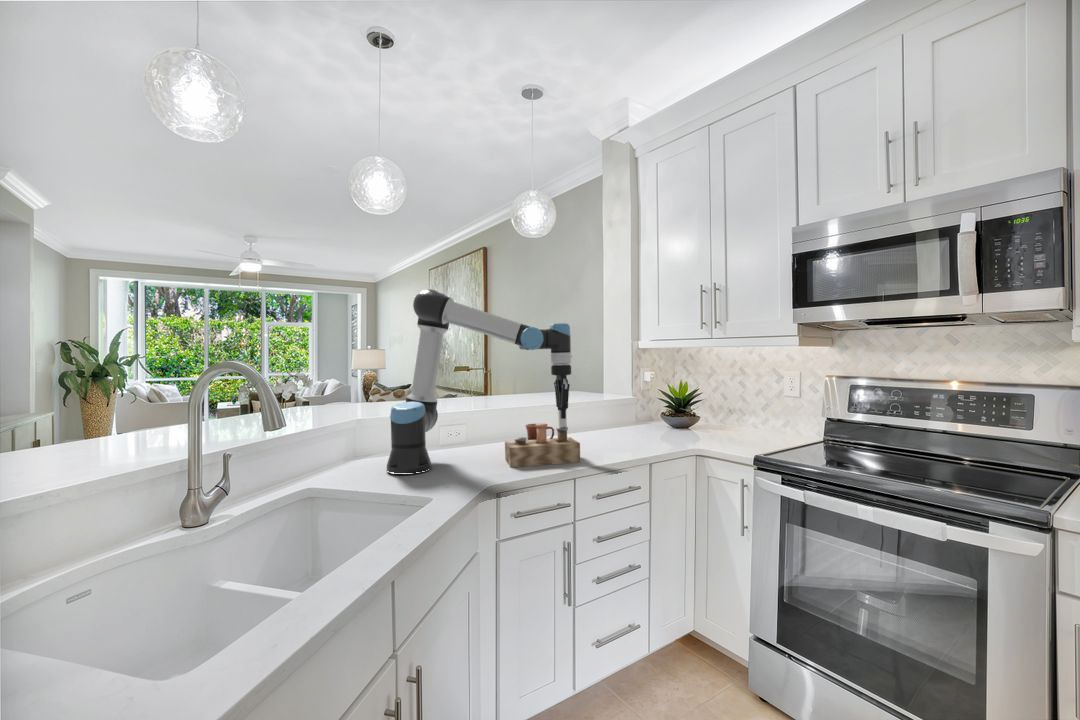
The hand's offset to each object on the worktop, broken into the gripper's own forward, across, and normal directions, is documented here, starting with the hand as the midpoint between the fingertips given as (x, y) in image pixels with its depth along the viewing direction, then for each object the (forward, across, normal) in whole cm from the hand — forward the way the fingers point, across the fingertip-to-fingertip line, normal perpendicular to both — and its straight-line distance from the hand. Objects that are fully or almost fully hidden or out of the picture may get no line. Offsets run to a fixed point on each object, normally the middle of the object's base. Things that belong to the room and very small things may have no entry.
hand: (562, 426), depth 177 cm
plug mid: (+7, 0, +8) cm, 11 cm away
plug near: (+12, 0, +16) cm, 20 cm away
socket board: (+12, 0, +8) cm, 15 cm away
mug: (+13, +20, +4) cm, 24 cm away
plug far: (+9, 0, 0) cm, 9 cm away
